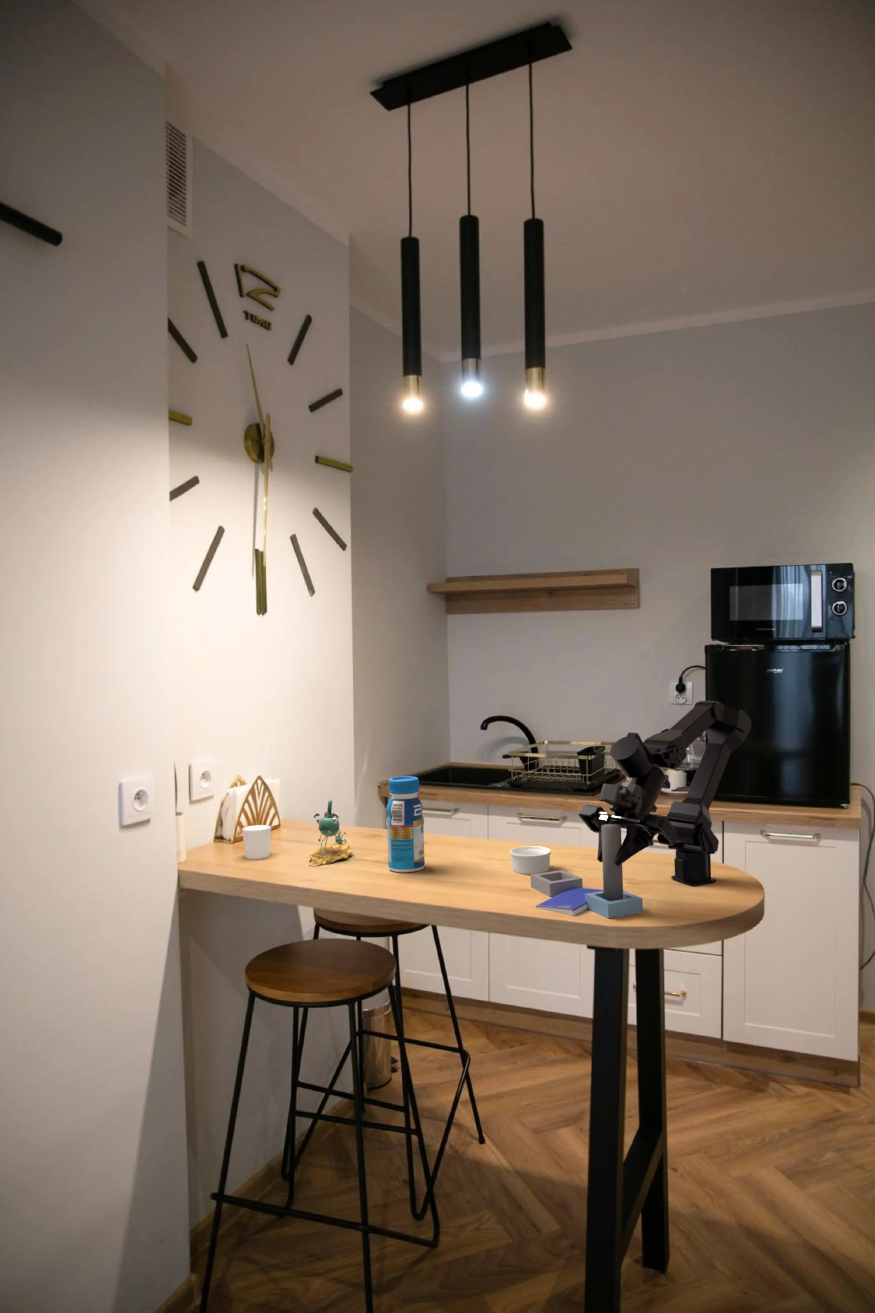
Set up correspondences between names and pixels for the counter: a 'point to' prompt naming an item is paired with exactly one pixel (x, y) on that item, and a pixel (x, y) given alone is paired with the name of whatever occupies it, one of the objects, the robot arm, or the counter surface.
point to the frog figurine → (328, 829)
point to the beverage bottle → (405, 825)
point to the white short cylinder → (257, 841)
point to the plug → (611, 862)
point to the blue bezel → (614, 904)
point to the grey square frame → (555, 882)
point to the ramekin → (530, 859)
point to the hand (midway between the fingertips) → (607, 862)
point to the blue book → (568, 901)
